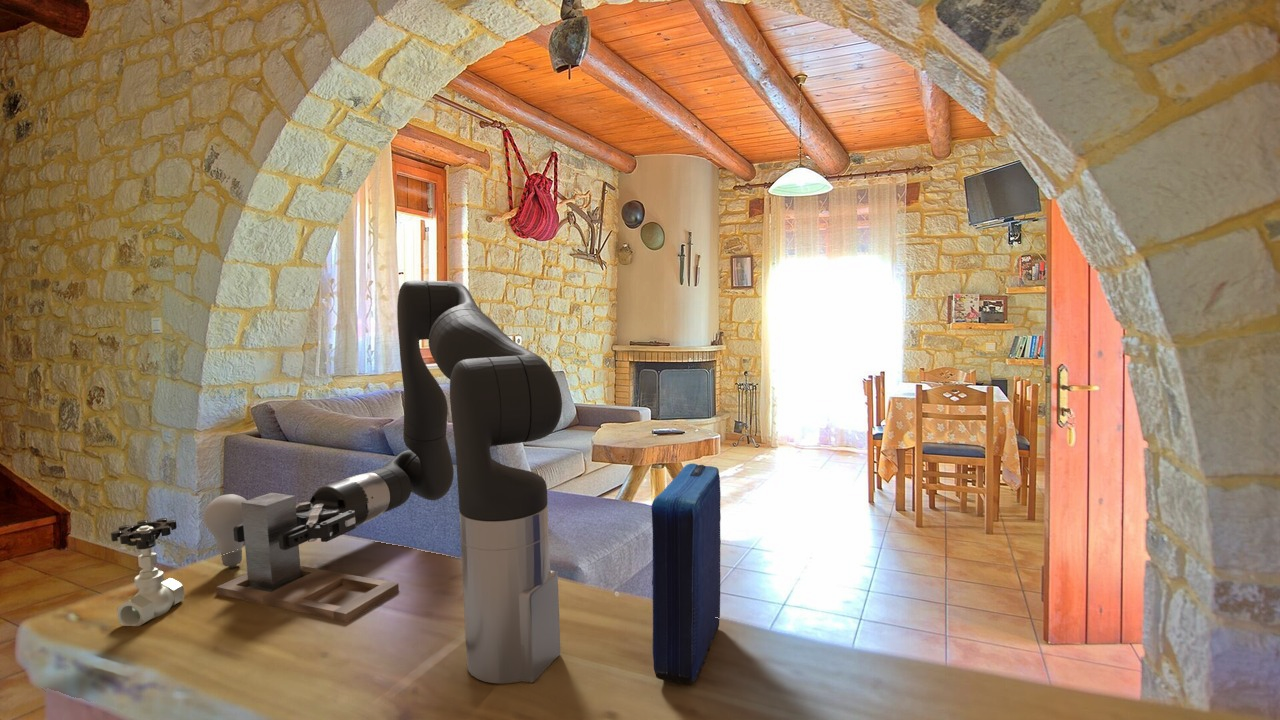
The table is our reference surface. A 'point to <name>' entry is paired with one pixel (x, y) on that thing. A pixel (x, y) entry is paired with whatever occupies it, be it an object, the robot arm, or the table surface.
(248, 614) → the table surface
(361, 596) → the tray
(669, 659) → the blue case
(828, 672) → the table surface
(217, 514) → the lightbulb
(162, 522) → the valve
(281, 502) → the metal block
